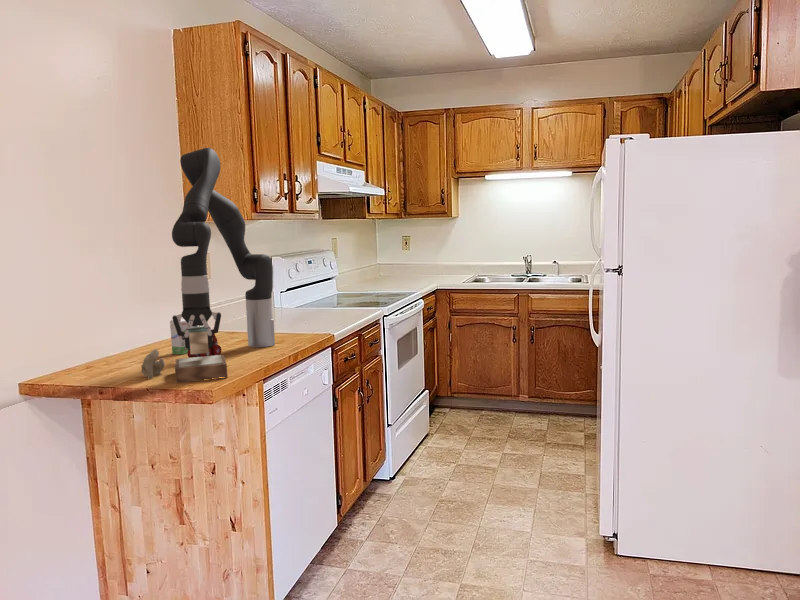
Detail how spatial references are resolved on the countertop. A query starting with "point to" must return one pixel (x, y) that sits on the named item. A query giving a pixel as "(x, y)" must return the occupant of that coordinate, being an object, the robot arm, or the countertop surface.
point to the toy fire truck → (209, 349)
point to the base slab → (200, 368)
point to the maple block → (198, 340)
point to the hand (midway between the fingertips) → (199, 348)
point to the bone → (152, 365)
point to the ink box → (178, 338)
